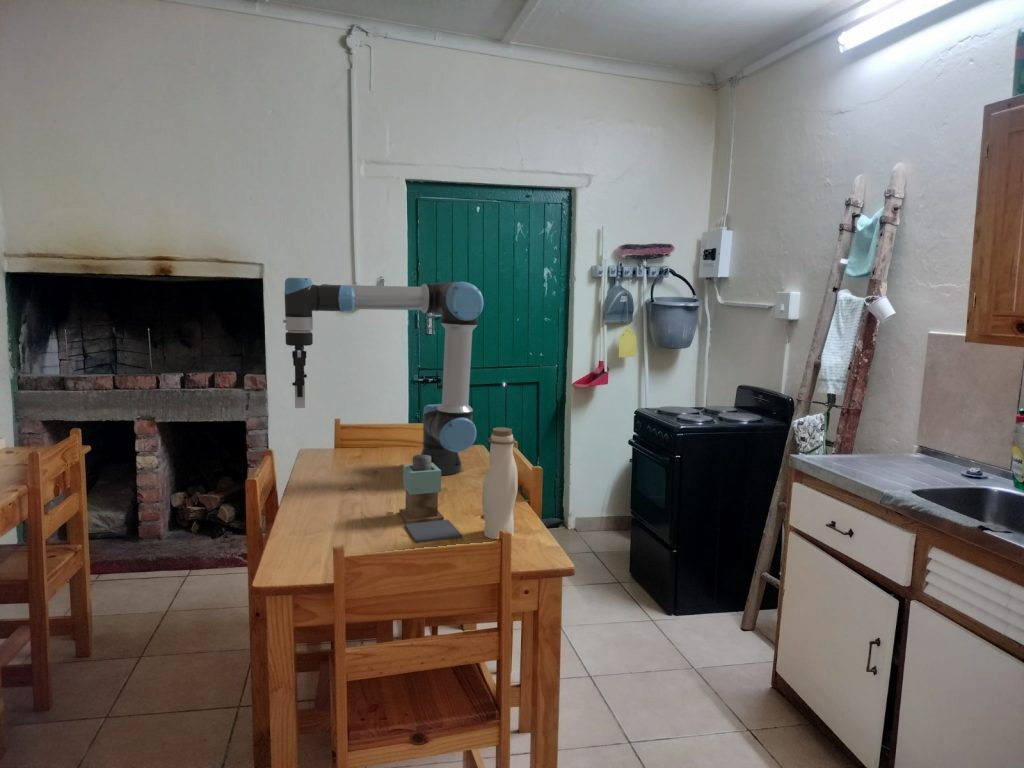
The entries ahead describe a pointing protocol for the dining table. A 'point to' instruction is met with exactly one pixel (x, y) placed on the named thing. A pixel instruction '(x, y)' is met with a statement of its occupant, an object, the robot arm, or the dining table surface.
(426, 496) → the stand
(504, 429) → the water bottle
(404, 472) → the teal square planter
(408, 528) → the mat
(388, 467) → the dining table surface
